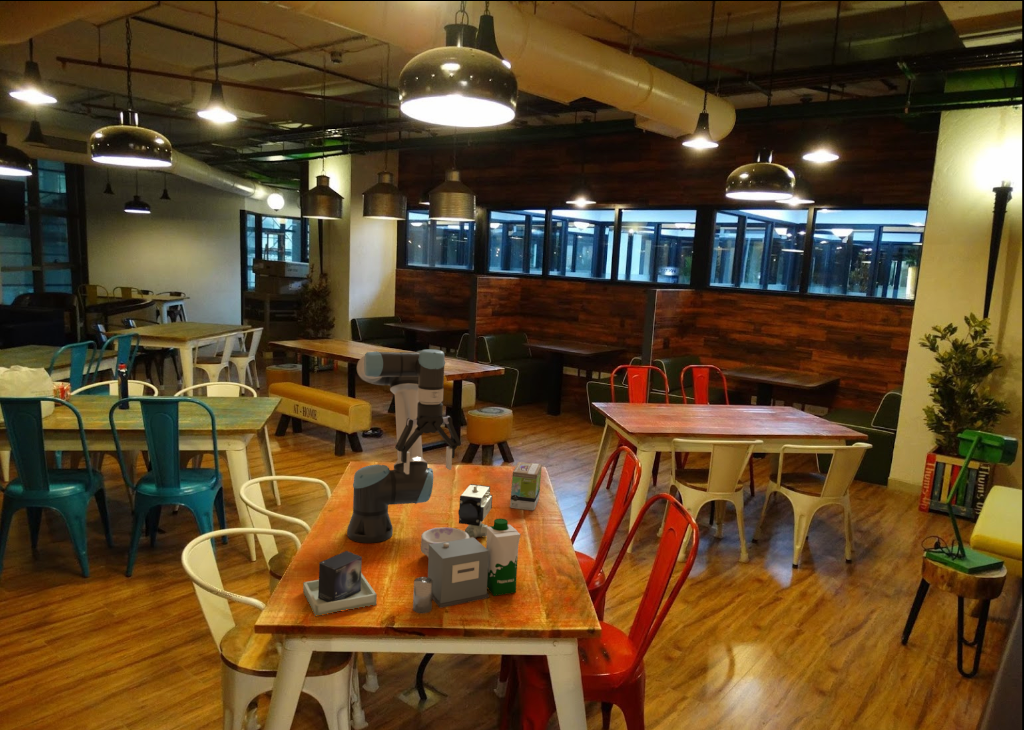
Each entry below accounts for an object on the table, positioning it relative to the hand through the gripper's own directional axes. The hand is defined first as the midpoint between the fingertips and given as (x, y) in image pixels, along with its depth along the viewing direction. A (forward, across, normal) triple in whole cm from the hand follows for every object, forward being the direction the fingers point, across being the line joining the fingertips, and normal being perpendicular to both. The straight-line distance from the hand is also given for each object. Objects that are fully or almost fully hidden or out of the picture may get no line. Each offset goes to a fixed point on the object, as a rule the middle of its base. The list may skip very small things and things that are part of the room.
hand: (427, 470), depth 211 cm
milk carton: (+31, +15, -22) cm, 41 cm away
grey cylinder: (+31, -10, -24) cm, 40 cm away
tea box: (+31, +58, +38) cm, 76 cm away
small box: (+30, -29, -10) cm, 43 cm away
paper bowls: (+31, +8, +3) cm, 32 cm away
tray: (+31, -29, -10) cm, 43 cm away
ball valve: (+31, +25, +16) cm, 43 cm away
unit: (+31, +2, -20) cm, 37 cm away
